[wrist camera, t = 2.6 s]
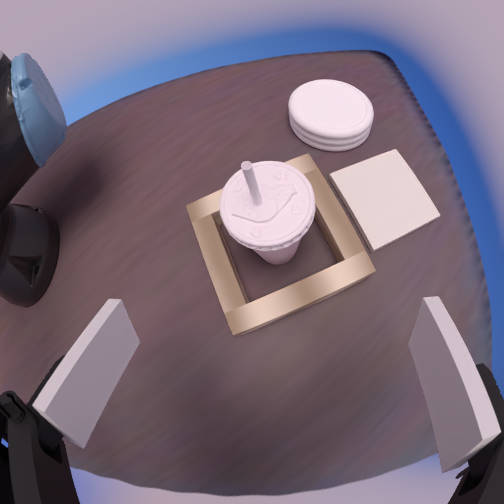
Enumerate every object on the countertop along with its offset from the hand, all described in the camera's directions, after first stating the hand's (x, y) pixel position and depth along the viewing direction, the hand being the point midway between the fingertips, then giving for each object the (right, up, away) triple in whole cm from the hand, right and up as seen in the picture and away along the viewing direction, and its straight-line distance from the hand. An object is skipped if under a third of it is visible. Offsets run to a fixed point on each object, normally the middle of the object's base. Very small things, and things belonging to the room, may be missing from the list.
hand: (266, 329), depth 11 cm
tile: (+13, +9, +16) cm, 22 cm away
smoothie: (+2, +4, +16) cm, 17 cm away
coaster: (+9, +19, +20) cm, 29 cm away
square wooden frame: (+2, +4, +16) cm, 16 cm away
